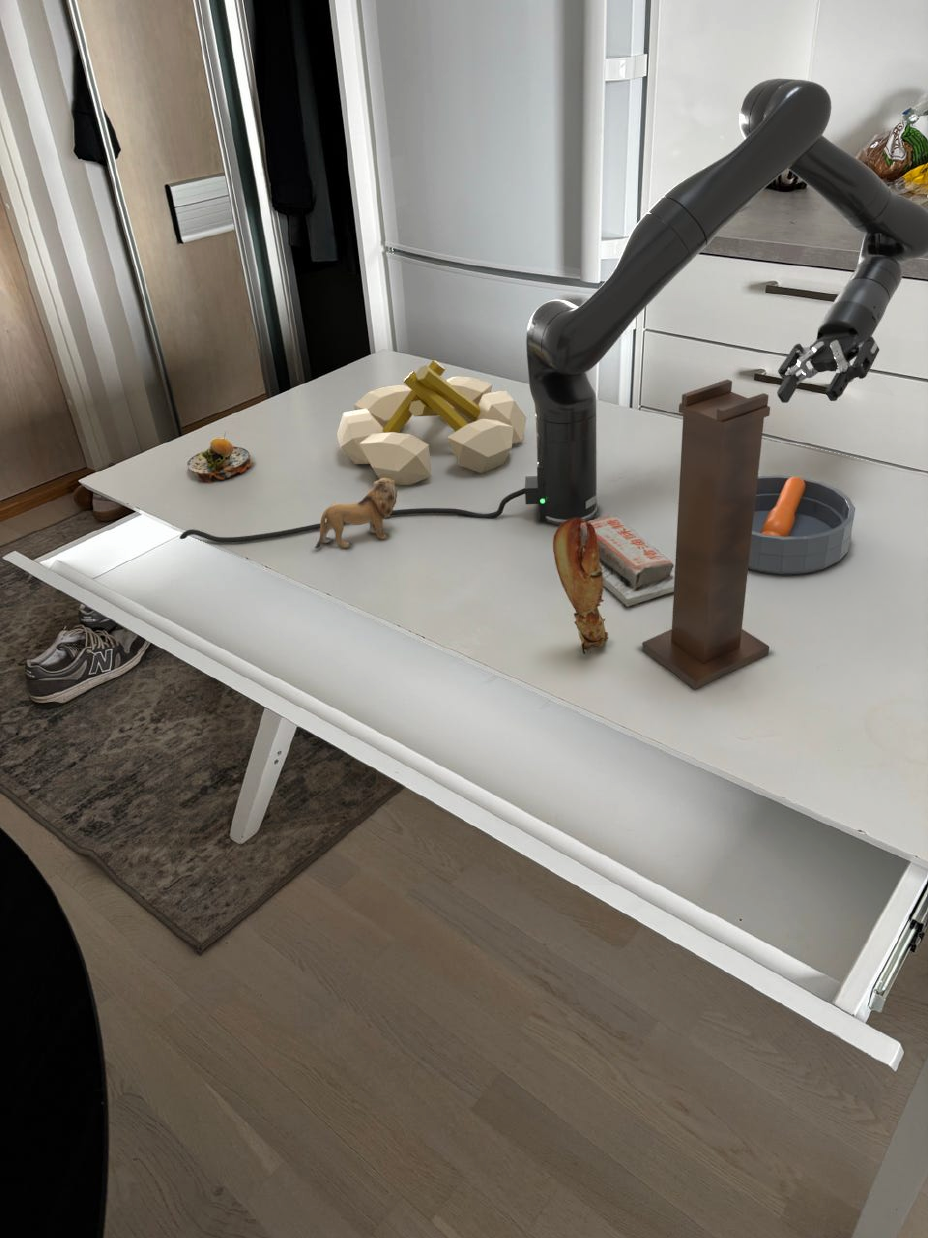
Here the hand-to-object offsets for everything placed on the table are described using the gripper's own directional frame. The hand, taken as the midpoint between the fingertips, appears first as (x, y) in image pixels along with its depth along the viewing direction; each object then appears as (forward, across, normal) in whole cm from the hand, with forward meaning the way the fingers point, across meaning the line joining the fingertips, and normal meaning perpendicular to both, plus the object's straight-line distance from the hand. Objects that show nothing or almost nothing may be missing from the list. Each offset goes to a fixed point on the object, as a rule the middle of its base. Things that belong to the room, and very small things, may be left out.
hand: (805, 398), depth 142 cm
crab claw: (+54, +2, -13) cm, 55 cm away
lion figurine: (+51, -43, -27) cm, 71 cm away
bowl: (+20, +2, +8) cm, 22 cm away
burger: (+48, -83, -40) cm, 104 cm away
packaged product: (+37, -8, -6) cm, 39 cm away
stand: (+46, +12, -5) cm, 48 cm away
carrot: (+19, +2, +7) cm, 20 cm away
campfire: (+23, -62, -16) cm, 68 cm away
